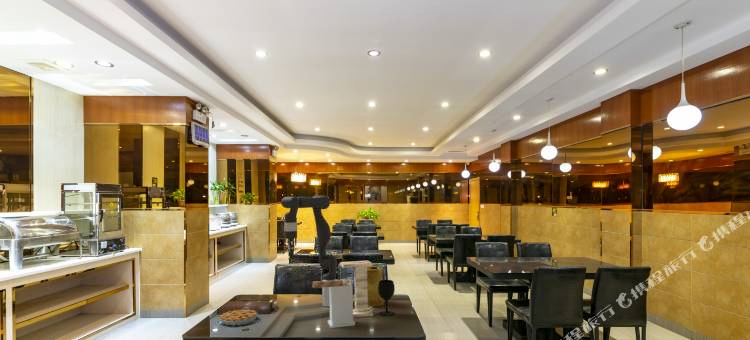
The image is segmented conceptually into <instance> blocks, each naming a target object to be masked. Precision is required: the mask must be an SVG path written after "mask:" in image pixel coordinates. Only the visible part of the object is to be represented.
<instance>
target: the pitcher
mask: <svg viewBox="0 0 750 340" xmlns="http://www.w3.org/2000/svg"><path fill="white" fill-rule="evenodd" d="M384 269H385V268H384V266H376V265H375V266H373V265H372V266H367V289H368V307H369V306H370V307H380V306H383V305H385V302H384V301H385V300H384V299H383V298H381V296H380V295H379V293H378V284H379V281H380V280H384V278H383V270H384Z"/></svg>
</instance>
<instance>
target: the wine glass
mask: <svg viewBox="0 0 750 340" xmlns="http://www.w3.org/2000/svg"><path fill="white" fill-rule="evenodd" d="M395 289H396V288H395V283H394V281H393V280H391V279H383V280H380V281H379V284H378V293H379V295H380V296H381V298H383V299H384V301H385V302H384V303H385V310H381V311H379V312H378V315H379V316H382V317H391V316H395V315H396V312H395V311H392V310H389V309H388V301H389V300H391V299H392V297H393V296H394V294H395V291H396V290H395Z"/></svg>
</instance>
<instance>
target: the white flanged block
mask: <svg viewBox="0 0 750 340" xmlns="http://www.w3.org/2000/svg"><path fill="white" fill-rule="evenodd" d="M353 291H354V290H353V285H352V286H334V287H329V300H330V306H329V319H327V324H328V325H329V328H330V329H333V328H334V329H335V328H336V329H337V328H343V327H344V328H345V327H353V326H356V322H355V321H354V318H353V309H354V307H353V305H354V303H353V301H354V300H353V298H354V297H353V296H354V295H353Z"/></svg>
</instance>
